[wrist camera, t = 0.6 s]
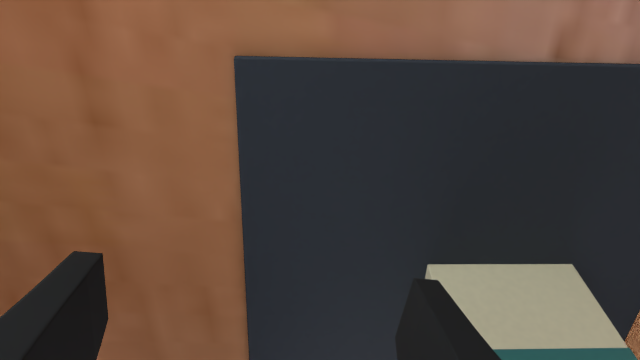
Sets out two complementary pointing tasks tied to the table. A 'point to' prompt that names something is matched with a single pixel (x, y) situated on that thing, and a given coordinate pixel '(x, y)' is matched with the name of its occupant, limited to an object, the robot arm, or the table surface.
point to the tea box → (532, 311)
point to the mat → (426, 188)
